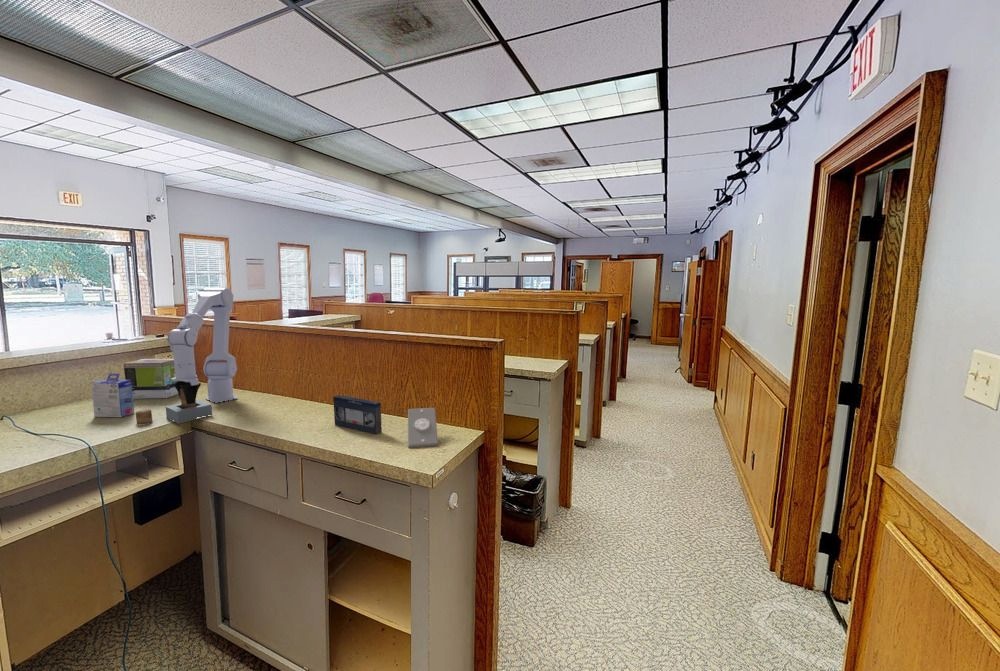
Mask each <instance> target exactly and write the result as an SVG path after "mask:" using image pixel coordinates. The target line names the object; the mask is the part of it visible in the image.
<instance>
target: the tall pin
mask: <svg viewBox="0 0 1000 671" xmlns="http://www.w3.org/2000/svg"><path fill="white" fill-rule="evenodd" d="M180 395H181V399H180V404H181V406H182V409H185V408H190V407H195V406H196V401H195V403H193V404H187V402H186V399H185V395H184V392H183V390H182V389H180Z"/></svg>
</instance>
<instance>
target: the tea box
mask: <svg viewBox="0 0 1000 671" xmlns="http://www.w3.org/2000/svg"><path fill="white" fill-rule="evenodd" d="M123 372H124V380H131V384H132V394H133V400H135V399H136V400H137V399H141V400H143V399H168V398H171V397H173V396H176V395H179V394H178V391H177V390H176V388H175V387H174V385H173V384H172V383H174V382H177V381H172V380H171V378H174V374H175V368H174V358H141V359H138V360H131V361H127V362H123Z"/></svg>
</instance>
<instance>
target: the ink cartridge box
mask: <svg viewBox="0 0 1000 671" xmlns="http://www.w3.org/2000/svg"><path fill="white" fill-rule="evenodd" d="M120 374H121V373H109V374H108V376H107V379H103V380H98V381H94V382H91V393H92V404H93V416H94V417H95V418H122V417H125V416H129V415H133V414H135V407H134V399H133V394H132V384H131V380H125V379H119V378H120ZM113 376H115V377H113Z"/></svg>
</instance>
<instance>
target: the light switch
mask: <svg viewBox="0 0 1000 671" xmlns="http://www.w3.org/2000/svg"><path fill="white" fill-rule="evenodd" d="M437 427H438V426H437V414H436V407H424V408H423V407H422V408H421V407H419V408H408V409H407V436H408V437H407V448H409V449H410V448H411V449H414V448H425V447H427V448H428V447H437V446H439V441H438V440H439V439H438V428H437Z"/></svg>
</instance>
